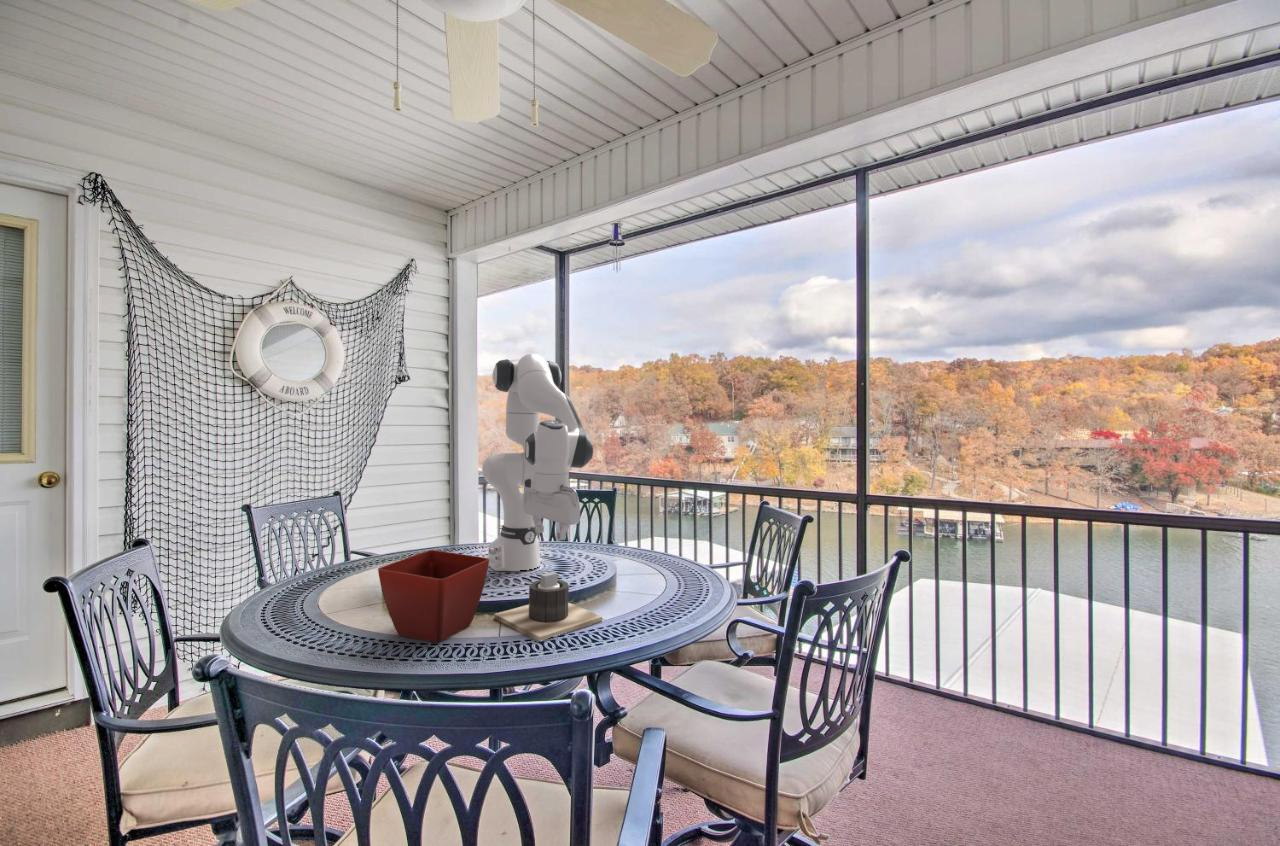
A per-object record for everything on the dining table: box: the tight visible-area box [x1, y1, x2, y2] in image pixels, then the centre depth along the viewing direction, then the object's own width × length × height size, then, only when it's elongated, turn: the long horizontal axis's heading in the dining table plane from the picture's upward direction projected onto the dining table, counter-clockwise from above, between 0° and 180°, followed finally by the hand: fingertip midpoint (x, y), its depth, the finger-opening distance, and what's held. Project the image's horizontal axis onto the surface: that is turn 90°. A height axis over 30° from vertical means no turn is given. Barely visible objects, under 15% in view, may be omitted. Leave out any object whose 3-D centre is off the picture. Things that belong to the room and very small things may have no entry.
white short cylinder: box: [538, 571, 560, 590], centre depth 153 cm, size 6×6×5 cm
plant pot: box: [377, 549, 489, 644], centre depth 144 cm, size 19×19×17 cm
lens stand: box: [493, 579, 603, 642], centre depth 153 cm, size 20×20×9 cm
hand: (550, 535), depth 153 cm, fingers open, 8 cm apart
